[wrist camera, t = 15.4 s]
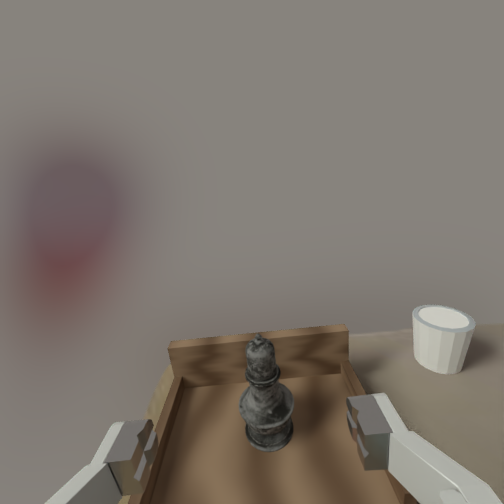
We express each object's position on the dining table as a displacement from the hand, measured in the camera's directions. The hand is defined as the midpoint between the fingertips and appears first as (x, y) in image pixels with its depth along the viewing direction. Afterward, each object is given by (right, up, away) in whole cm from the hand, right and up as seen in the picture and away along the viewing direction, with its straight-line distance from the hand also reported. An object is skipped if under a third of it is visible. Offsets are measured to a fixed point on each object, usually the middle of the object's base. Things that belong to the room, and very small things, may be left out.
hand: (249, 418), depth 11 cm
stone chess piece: (+2, -12, +18) cm, 22 cm away
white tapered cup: (+27, -9, +26) cm, 38 cm away
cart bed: (+2, -14, +16) cm, 21 cm away
